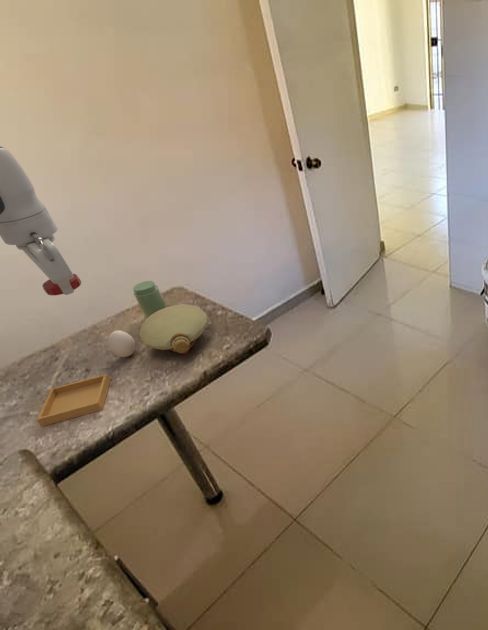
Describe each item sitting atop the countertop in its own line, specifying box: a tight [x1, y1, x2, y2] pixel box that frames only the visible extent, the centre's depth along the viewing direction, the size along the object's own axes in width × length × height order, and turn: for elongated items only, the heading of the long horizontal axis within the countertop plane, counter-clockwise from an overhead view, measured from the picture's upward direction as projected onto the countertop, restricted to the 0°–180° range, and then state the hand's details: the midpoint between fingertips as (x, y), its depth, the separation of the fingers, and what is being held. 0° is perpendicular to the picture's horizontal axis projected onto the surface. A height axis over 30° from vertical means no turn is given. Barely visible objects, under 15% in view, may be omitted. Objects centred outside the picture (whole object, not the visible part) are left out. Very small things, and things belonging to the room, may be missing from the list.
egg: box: [107, 330, 136, 358], centre depth 107 cm, size 5×5×7 cm
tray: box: [36, 373, 112, 428], centre depth 96 cm, size 11×10×2 cm
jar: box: [132, 280, 168, 320], centre depth 120 cm, size 6×6×10 cm
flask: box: [139, 303, 208, 355], centre depth 109 cm, size 9×16×18 cm
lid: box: [42, 273, 82, 296], centre depth 94 cm, size 6×6×2 cm
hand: (63, 287), depth 94 cm, fingers closed on lid, 6 cm apart
